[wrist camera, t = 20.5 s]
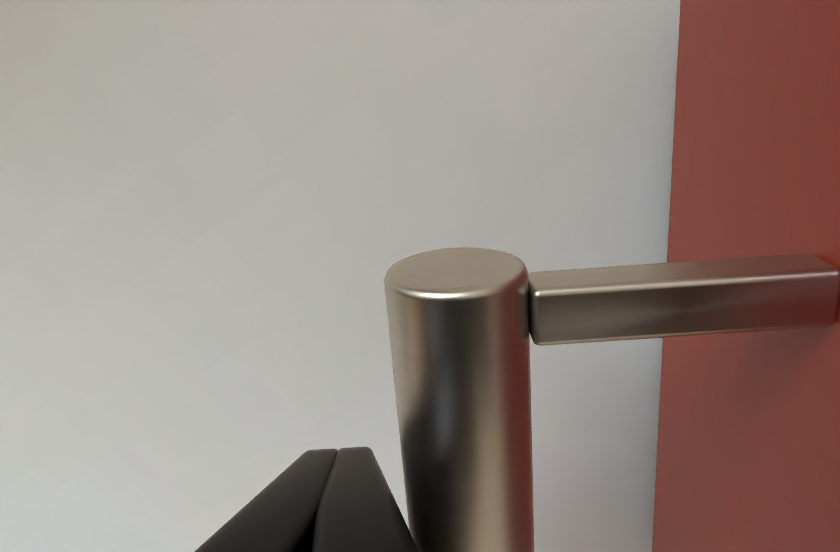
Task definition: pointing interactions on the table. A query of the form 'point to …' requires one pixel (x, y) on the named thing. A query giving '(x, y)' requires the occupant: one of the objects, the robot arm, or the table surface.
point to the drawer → (663, 316)
